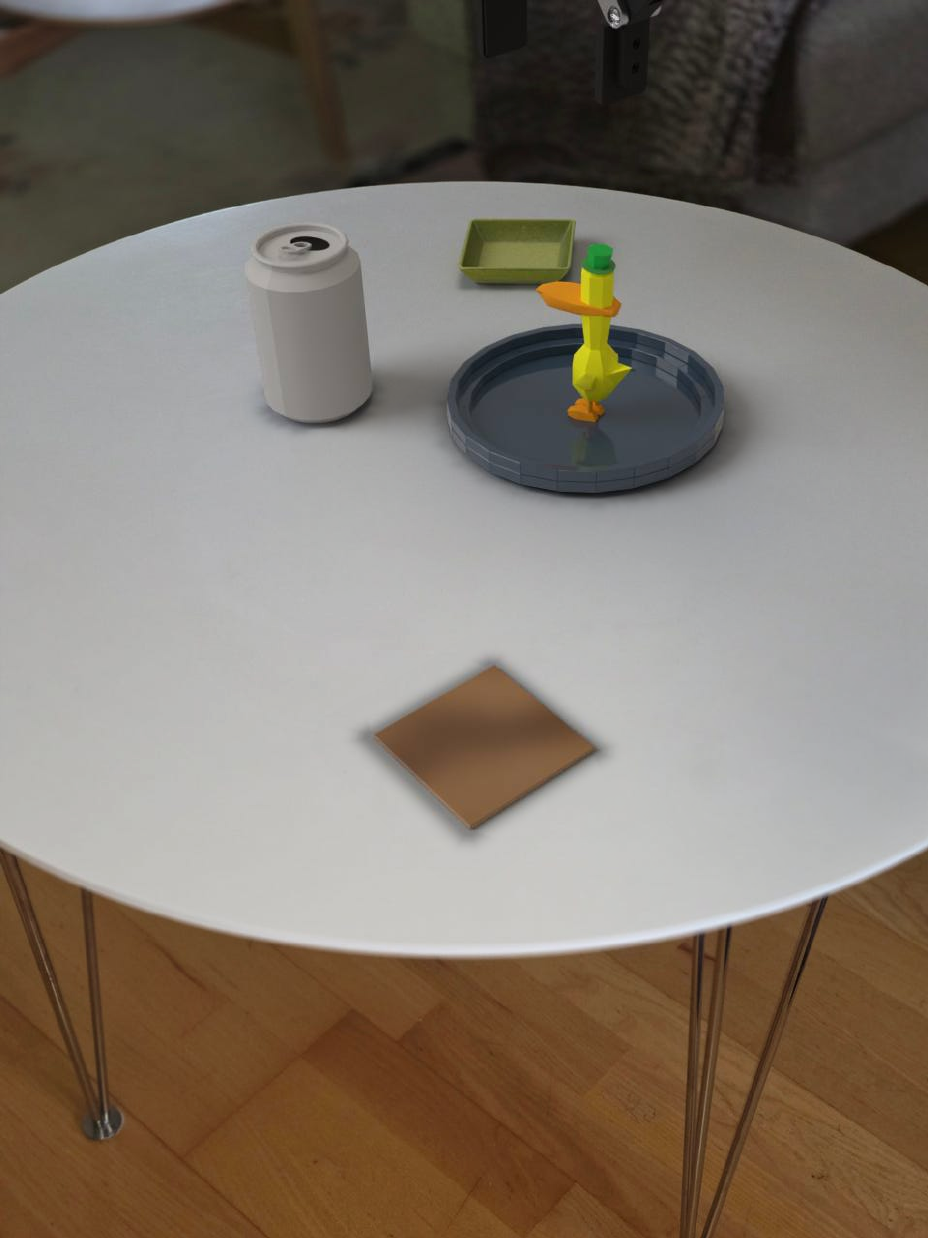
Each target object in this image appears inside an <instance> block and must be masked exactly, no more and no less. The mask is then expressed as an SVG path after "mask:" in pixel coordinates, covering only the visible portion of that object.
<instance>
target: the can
mask: <svg viewBox="0 0 928 1238" xmlns="http://www.w3.org/2000/svg"><path fill="white" fill-rule="evenodd" d="M250 251H251V254H252V255H251V256H250V257H249V258H248V260H247V261H246V264H245V266H244V268H243V269H244V275H245V281H246V288H247V294H248V301H249V307H250V313H251V320H252V326H253V331H254V338H255V343H256V344H255V345H256V349H257V356H258V363H259V368H260V374H261V382H262V387H263V394H264V398H265V403H266V404H267V406H269V408H271V410H273V411H274V412H276V413H277V414H280V415H281V416H283V417H285V418H287V419H289V420H291V421H294V422H298V423H302V424H303V423H304V424H324V423H330V422H335V421H338V420H340V419H341V420H342V419H344V418H346V417H348V416H349V415H351V414H353V413H354V412H356V411H357V410H358V409H359V408H360V407H361V406H363V405H364V404H365V403H366V401H367V400H368V399H369V398H370V397H371V395H372V392H373V388H374V385H373V384H374V382H373V374H372V372H373V371H372V364H371V352H370V342H369V333H368V324H367V323H368V322H367V313H366V304H365V303H366V302H365V294H364V293H365V292H364V285H363V283H364V282H363V275H362V274H363V273H362V272H363V271H362V263H361V259H360V256H359V254H358V252H357V251H356V250H355V249H353V247H351V245H349V238H348V235H347V233H345V232H344V231H343V230H341V229H340V227H337V226H334V225H332V224H329V223H324V222H317V221H298V222H291V223H285V224H281V225H278V226H275V227H271V228H270V229H268V230H266V231H264V232H262V233H261V234H259V235H258V236H257V237H256V238H255V239H254V240H253V242H252V243H251V246H250Z"/></svg>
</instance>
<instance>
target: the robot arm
mask: <svg viewBox="0 0 928 1238" xmlns="http://www.w3.org/2000/svg"><path fill="white" fill-rule="evenodd" d="M475 2H476V3H475V5H476V6H475V8H476V31H477V32H476V35H477V36H476V37H477V54H478V55H479V57H482V58H484V59H492V58H495V57H498V56H502V55H504V54H508V53H510V52H514V51H517V50H520V49H522V48H524V47H526V45H527V43H528V0H475ZM597 2H598V4H599V8H600V9H601V12H602V14H603V16H604V18H605V20H606V22H603V23H601V24H598V25H597V29H596V32H595V33H596V36H595V72H594V73H595V76H594V77H595V79H594V80H595V81H594V97H595V101H596V102H597V103H598V104H600V105H604V106H610V105H613V104H615V103H618V102H621V101H624V100H625V99H626V100H627V99H630V98H632V97H634V96H637V95H640V94H642V93H644V92H645V91H646V89H647V86H648V71H649V70H648V68H649V67H648V66H649V48H650V46H649V45H650V28H651V18H653V17H656V16H658V15H659V14H660V13H661V9H662V5H663V4H664V3H665V2H666V0H597Z"/></svg>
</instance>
